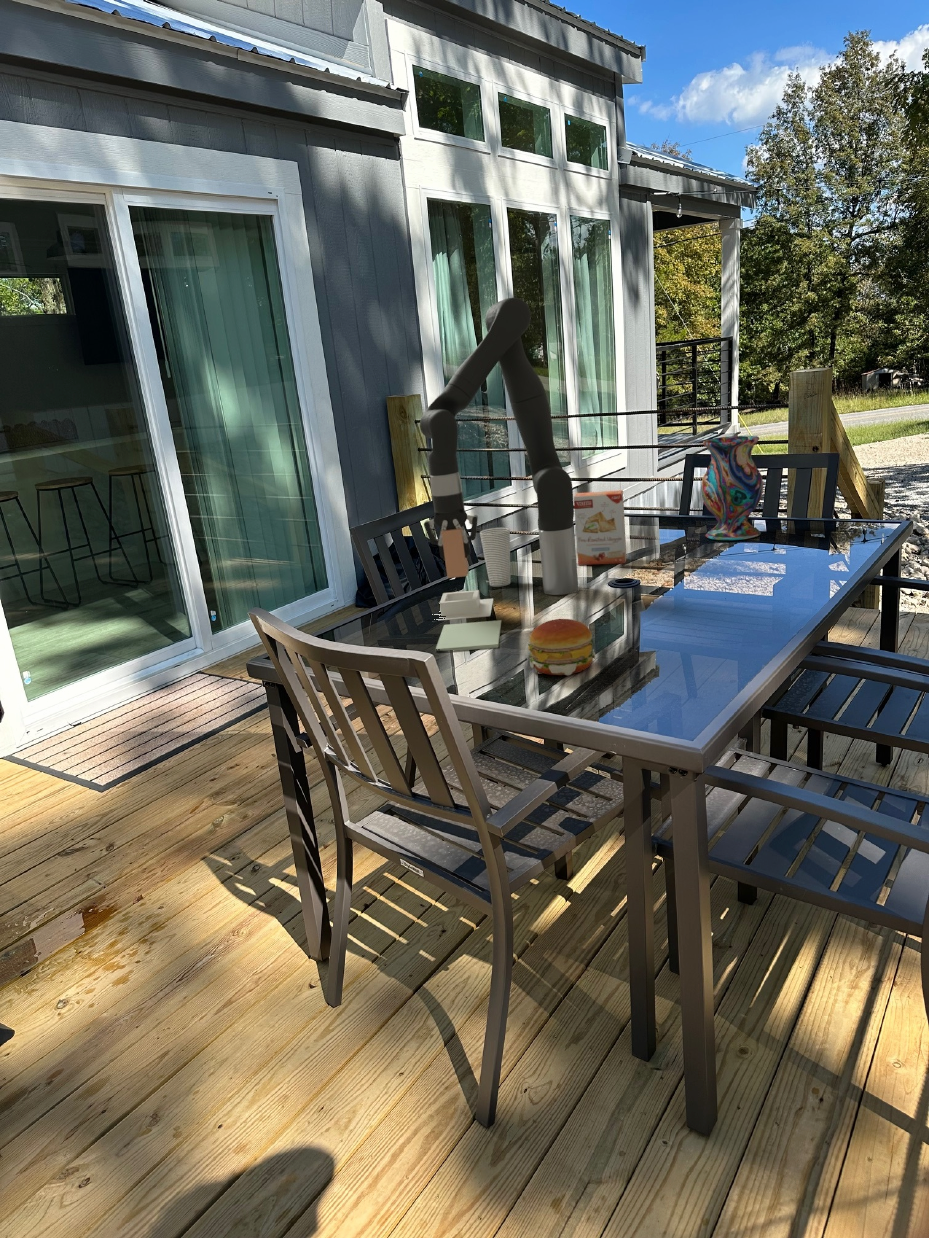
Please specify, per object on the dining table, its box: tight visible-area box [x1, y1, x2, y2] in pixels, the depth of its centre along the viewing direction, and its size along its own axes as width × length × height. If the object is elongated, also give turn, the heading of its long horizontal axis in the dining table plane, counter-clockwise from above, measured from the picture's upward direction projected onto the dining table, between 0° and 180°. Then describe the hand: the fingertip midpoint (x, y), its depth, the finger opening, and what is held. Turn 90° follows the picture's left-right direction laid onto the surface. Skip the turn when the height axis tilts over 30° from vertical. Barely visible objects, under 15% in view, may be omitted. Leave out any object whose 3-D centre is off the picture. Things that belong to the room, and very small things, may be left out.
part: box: [440, 528, 469, 579], centre depth 217 cm, size 5×5×12 cm
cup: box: [479, 526, 511, 588], centre depth 242 cm, size 8×8×16 cm
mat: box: [435, 619, 502, 651], centre depth 200 cm, size 14×18×1 cm
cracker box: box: [573, 489, 627, 566], centre depth 252 cm, size 14×6×21 cm, turn 76°
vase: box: [700, 435, 764, 541], centre depth 266 cm, size 18×18×30 cm
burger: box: [527, 618, 597, 676], centre depth 173 cm, size 13×14×10 cm
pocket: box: [432, 589, 494, 621], centre depth 221 cm, size 16×16×4 cm
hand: (455, 558), depth 217 cm, fingers closed on part, 5 cm apart
